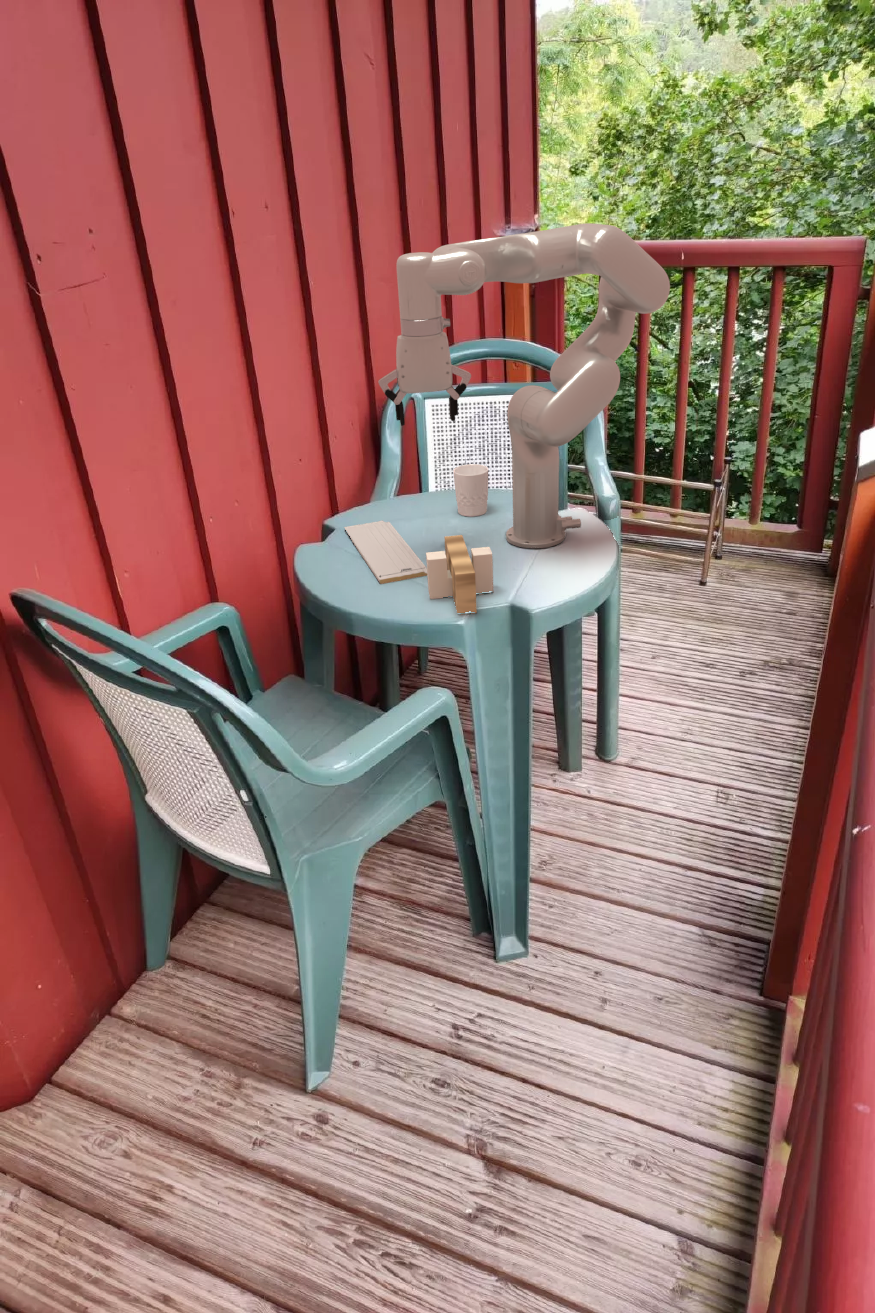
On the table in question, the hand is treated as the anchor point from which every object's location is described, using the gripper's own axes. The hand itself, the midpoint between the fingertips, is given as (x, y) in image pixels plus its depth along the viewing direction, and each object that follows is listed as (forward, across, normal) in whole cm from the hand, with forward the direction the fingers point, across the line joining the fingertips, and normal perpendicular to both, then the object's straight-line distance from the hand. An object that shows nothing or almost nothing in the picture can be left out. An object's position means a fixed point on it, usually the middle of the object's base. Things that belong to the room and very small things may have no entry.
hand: (427, 421), depth 171 cm
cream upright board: (+28, -3, +17) cm, 33 cm away
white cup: (+28, -11, -25) cm, 39 cm away
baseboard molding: (+29, +10, -6) cm, 31 cm away
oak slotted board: (+28, -3, +17) cm, 33 cm away
